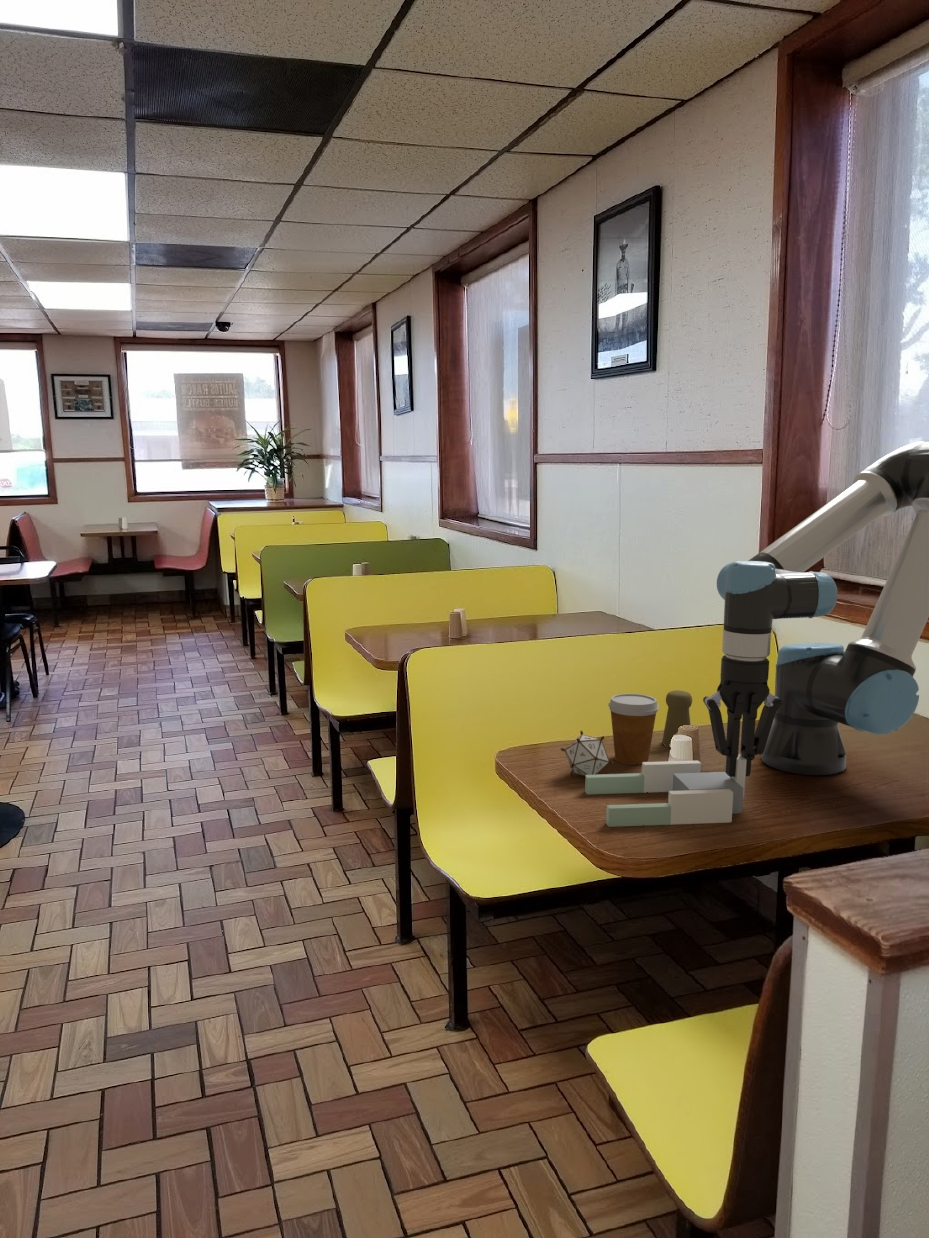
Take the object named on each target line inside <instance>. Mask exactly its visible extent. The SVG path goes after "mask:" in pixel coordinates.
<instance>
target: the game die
mask: <svg viewBox="0 0 929 1238" xmlns="http://www.w3.org/2000/svg"><path fill="white" fill-rule="evenodd" d="M579 733H580V735H579V736H578V737H577V738H576V739H575V740H574V741H572V743H570V744H569V745H568V746H567V747H565V748H564V747H561V748H560V750H561V751H562V752H565V755H566V756H565V757H566V759H567V762H568V764H569V768H570V770H571V771H570V773H569V776H573V775H574V774H577V775H581V776H584V777H585V775H598V773H600V771H601V770H603V768H605V767H606V766H607V765H609V764H611V765H613V764H614V761H613V760H609V756H608V753H607V751H606V748H605V745H604V742H603V740H604V739H605V736H604V735H602V736H601V737H600V738H598V737H594V736H590V735H586V734H584V731H583V730H580V732H579Z"/></svg>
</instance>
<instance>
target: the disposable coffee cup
mask: <svg viewBox="0 0 929 1238" xmlns="http://www.w3.org/2000/svg"><path fill="white" fill-rule="evenodd" d="M607 705H608V707H609V710H610V715H611V716H610V718H611V726H612V727H611V729H612V738H613V739H612V740H613V750H614V759H615V761H617V762H618V763H621V764H625V765H632V764H633V765H635V764H638V765H642V762H647V761H648V762H649V758H650V752H651V745H652V742H653V741H652V740H653V734H654V728H655V724H656V716H657V712H658V711H659V708H660V705H659V704H658V701H657V698H655V697H653V696H651V695H646V694H641V693H621V694H615V695H612V696H611V697H610V701H609V703H608V704H607ZM633 765H632V766H633ZM635 766H636V765H635Z"/></svg>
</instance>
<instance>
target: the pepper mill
mask: <svg viewBox="0 0 929 1238" xmlns="http://www.w3.org/2000/svg"><path fill="white" fill-rule="evenodd" d="M665 703H666V705H667V713H666V719H665V722H664V723H665V724H664V730H663V734H662V741H661V743H662V742H663V743H664V744H665V745H666V746H667V748H670V747H669V744H670V741H671V739H672V737H673V735H674V734H676V733H677V732H678V728H679V727H680V726H683V725H691V716H690V708H691V706H692V703H693V696H692V695H691V693H690V692H688V691H685V690H679V689H677V690H671V691H668V693H667V694H666V697H665ZM666 746H665V747H666Z"/></svg>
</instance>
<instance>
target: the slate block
mask: <svg viewBox="0 0 929 1238" xmlns="http://www.w3.org/2000/svg"><path fill="white" fill-rule="evenodd" d="M716 789H730V790H731V791H732V792H733V807H732V815H733V814H743V800H744V797H743V787H742V786H741V785H739V784H738V783H737V782H736V781H735V780H733V779H732V778H731V777H729V776H728V775H727V774H726V771H710V772H701V773H673V791H685V790H716Z"/></svg>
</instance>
